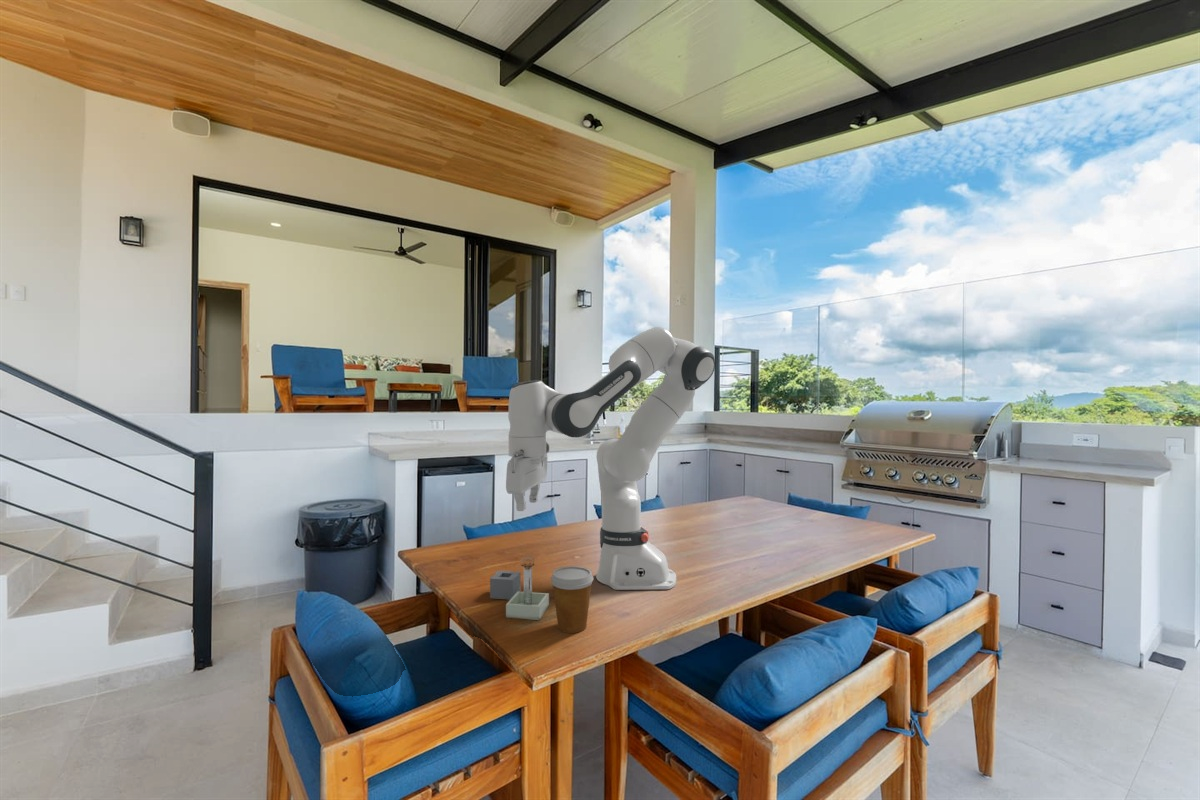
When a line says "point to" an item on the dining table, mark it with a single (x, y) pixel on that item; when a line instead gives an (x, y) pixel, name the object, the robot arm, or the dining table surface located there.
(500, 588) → the pin block
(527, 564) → the pin
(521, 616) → the tray
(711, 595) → the dining table surface
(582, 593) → the disposable coffee cup
